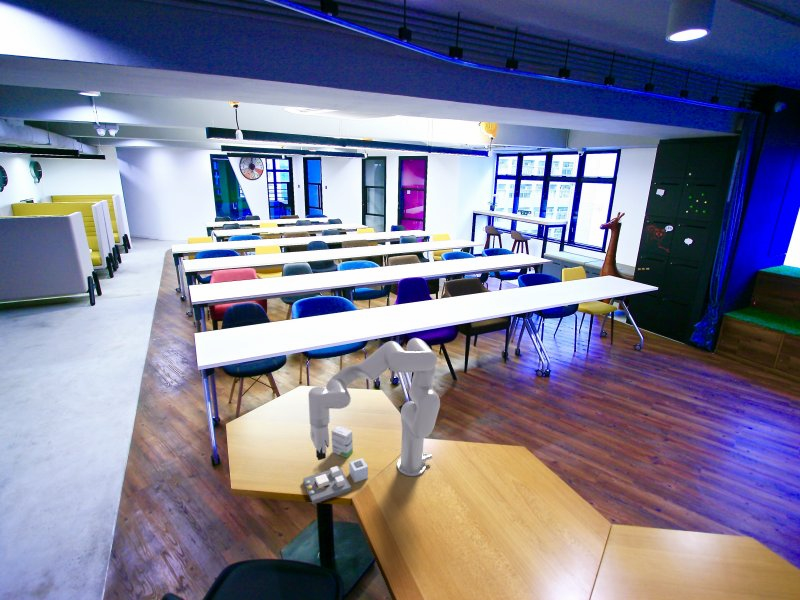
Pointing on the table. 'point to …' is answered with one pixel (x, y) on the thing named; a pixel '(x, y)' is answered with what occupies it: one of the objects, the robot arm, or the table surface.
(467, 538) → the table surface
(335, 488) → the breaker panel
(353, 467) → the cap
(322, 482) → the button
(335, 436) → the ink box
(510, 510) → the table surface
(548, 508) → the table surface
